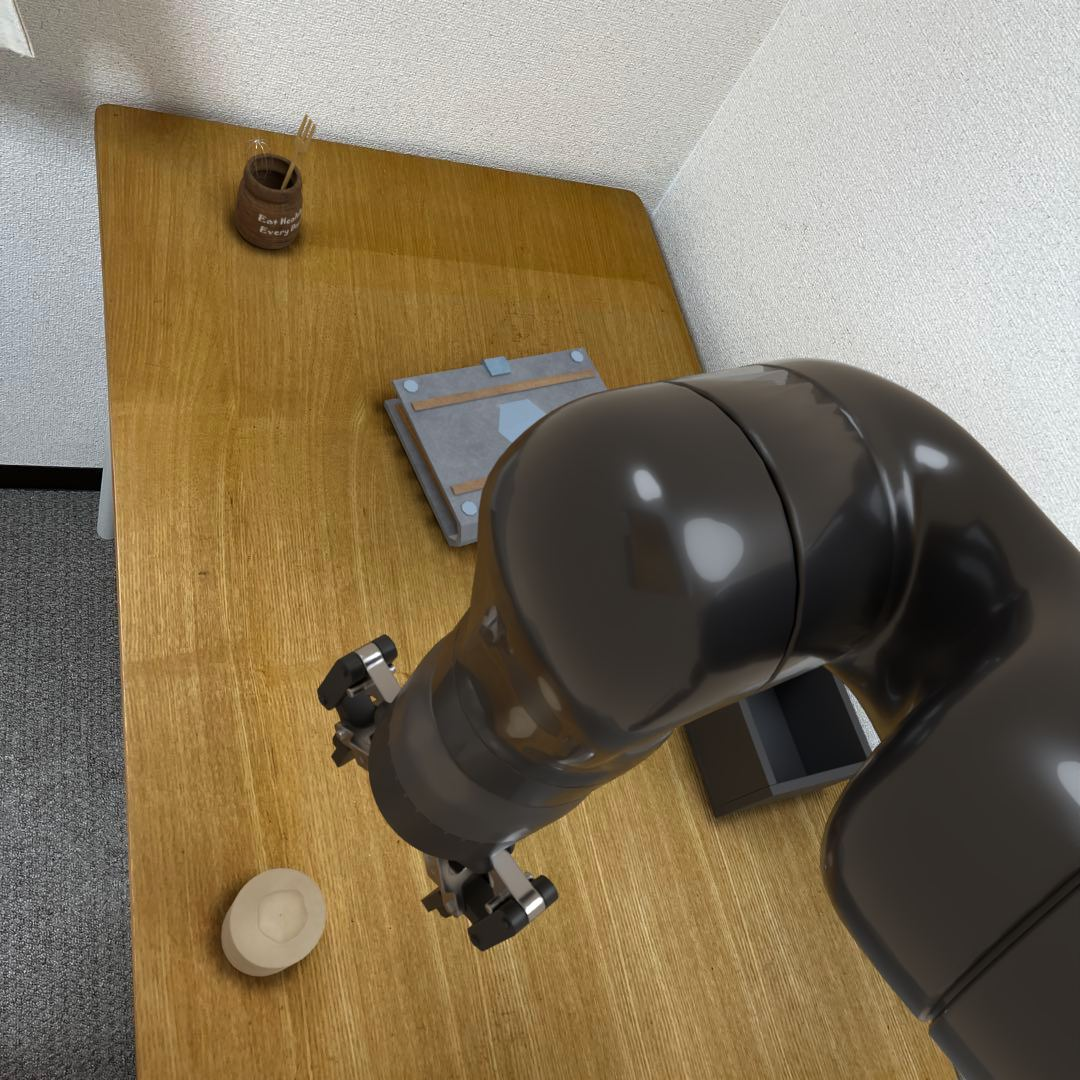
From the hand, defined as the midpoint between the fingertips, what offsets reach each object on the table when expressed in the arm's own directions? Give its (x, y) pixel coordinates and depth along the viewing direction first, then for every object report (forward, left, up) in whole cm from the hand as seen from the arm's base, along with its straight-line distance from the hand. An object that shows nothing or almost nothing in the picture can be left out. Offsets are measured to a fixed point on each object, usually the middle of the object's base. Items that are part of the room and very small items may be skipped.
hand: (394, 822), depth 47 cm
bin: (+3, -38, -20) cm, 43 cm away
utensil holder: (+61, -5, -20) cm, 64 cm away
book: (+34, -24, -20) cm, 46 cm away
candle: (-2, +5, -20) cm, 21 cm away
